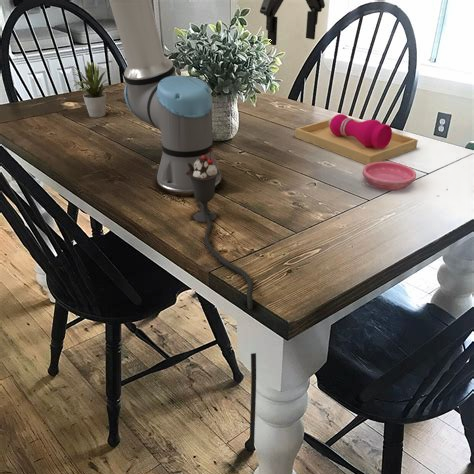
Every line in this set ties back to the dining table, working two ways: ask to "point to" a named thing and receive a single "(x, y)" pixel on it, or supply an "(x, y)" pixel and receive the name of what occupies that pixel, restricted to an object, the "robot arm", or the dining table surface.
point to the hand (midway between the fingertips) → (291, 41)
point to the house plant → (93, 91)
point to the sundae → (203, 184)
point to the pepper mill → (362, 131)
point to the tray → (354, 143)
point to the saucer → (389, 175)
